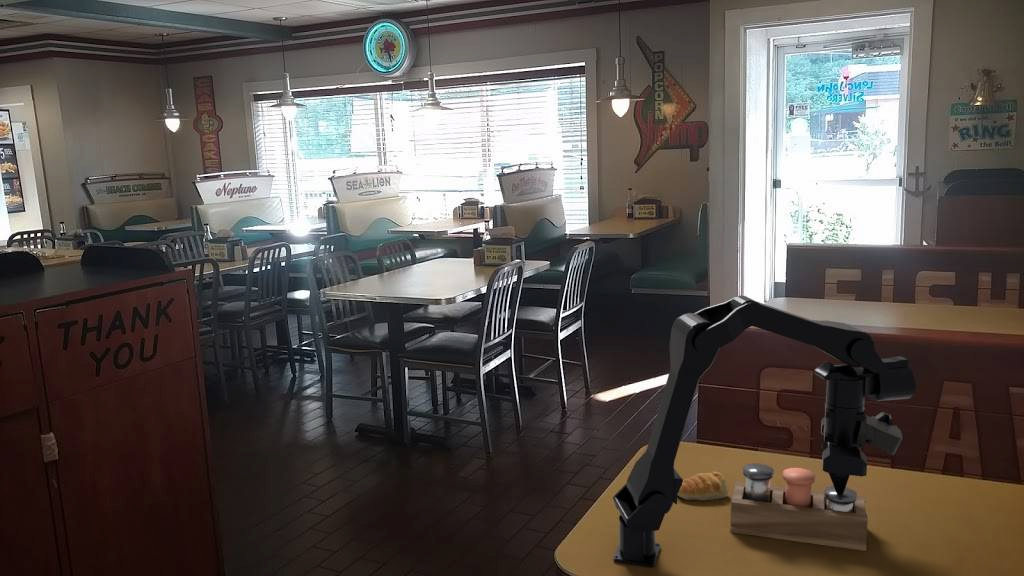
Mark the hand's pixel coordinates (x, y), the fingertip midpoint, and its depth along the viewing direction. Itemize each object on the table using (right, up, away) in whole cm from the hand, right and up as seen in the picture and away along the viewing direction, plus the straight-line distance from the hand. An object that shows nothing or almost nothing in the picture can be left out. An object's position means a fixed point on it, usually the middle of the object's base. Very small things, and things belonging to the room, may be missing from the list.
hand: (839, 492), depth 131 cm
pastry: (-18, -5, +17) cm, 26 cm away
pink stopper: (-6, -3, +3) cm, 7 cm away
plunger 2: (0, -6, +1) cm, 6 cm away
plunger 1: (-12, -3, +5) cm, 13 cm away
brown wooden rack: (-6, -7, +4) cm, 10 cm away
